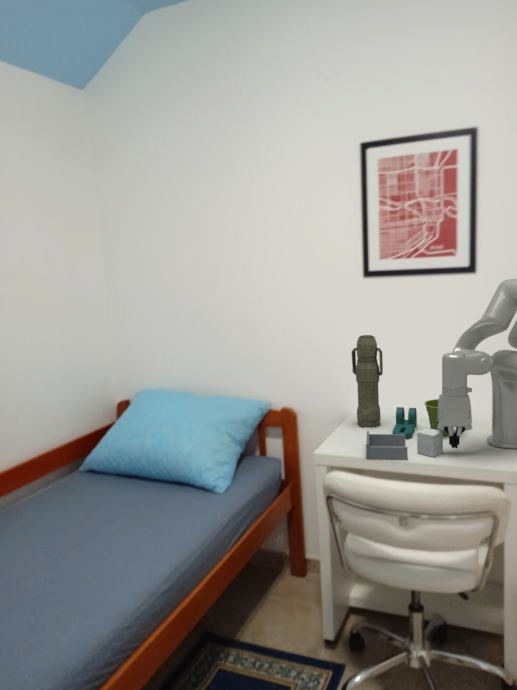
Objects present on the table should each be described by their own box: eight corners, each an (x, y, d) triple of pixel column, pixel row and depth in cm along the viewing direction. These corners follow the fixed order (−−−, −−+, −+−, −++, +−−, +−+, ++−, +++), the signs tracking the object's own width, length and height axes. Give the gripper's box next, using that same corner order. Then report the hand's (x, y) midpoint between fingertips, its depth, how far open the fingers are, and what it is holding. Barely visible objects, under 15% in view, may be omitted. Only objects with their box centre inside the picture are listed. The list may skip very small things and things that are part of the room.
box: (405, 445, 186) (405, 431, 185) (407, 459, 172) (407, 444, 172) (367, 445, 188) (366, 431, 188) (366, 458, 175) (366, 444, 174)
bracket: (398, 424, 210) (398, 405, 209) (416, 426, 207) (416, 406, 206) (391, 439, 194) (390, 418, 192) (410, 440, 191) (410, 419, 190)
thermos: (356, 420, 218) (353, 334, 213) (386, 422, 213) (384, 334, 208) (351, 426, 210) (348, 337, 205) (381, 429, 205) (379, 337, 200)
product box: (433, 457, 173) (433, 435, 172) (416, 453, 178) (416, 431, 177) (443, 452, 177) (443, 431, 176) (426, 448, 182) (426, 427, 181)
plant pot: (425, 427, 204) (424, 398, 202) (458, 429, 200) (458, 399, 198) (423, 437, 193) (423, 406, 191) (459, 439, 189) (459, 408, 187)
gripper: (477, 388, 175) (476, 443, 178) (428, 388, 178) (429, 442, 181) (481, 394, 168) (481, 451, 170) (431, 394, 171) (431, 450, 173)
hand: (454, 446), depth 175 cm, fingers closed
